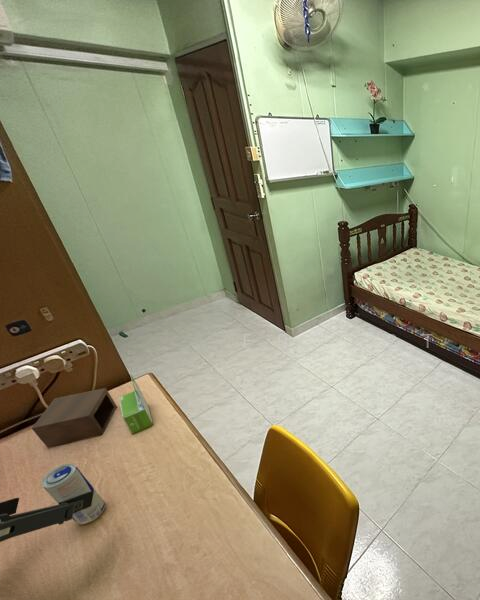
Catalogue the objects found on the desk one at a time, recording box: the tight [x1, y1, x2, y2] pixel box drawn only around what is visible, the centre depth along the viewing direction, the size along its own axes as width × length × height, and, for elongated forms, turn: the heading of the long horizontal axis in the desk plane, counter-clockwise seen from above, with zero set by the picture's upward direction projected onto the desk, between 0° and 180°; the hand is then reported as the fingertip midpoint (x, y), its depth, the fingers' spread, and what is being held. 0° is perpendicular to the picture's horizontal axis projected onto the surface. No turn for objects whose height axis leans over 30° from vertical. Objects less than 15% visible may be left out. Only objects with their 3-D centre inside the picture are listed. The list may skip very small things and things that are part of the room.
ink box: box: [118, 371, 154, 435], centre depth 90 cm, size 10×5×14 cm, turn 43°
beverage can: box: [40, 462, 106, 525], centre depth 67 cm, size 5×5×15 cm
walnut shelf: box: [31, 387, 118, 449], centre depth 89 cm, size 12×11×8 cm
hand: (53, 502), depth 62 cm, fingers open, 13 cm apart
